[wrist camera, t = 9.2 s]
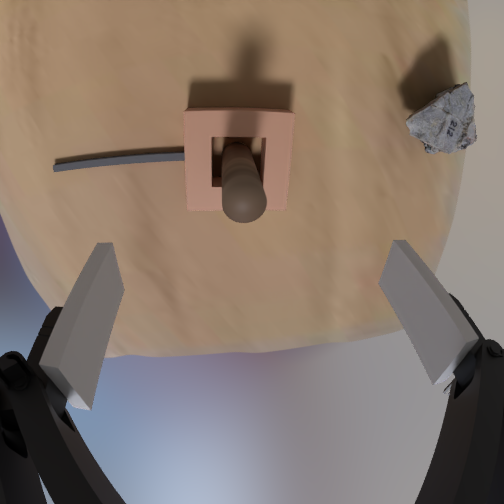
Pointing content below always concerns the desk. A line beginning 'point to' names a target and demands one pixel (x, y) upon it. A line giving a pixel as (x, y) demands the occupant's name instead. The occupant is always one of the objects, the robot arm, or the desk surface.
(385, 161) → the desk surface
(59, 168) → the strip
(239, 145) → the dowel
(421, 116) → the mineral specimen
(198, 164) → the pink square frame
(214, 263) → the desk surface
